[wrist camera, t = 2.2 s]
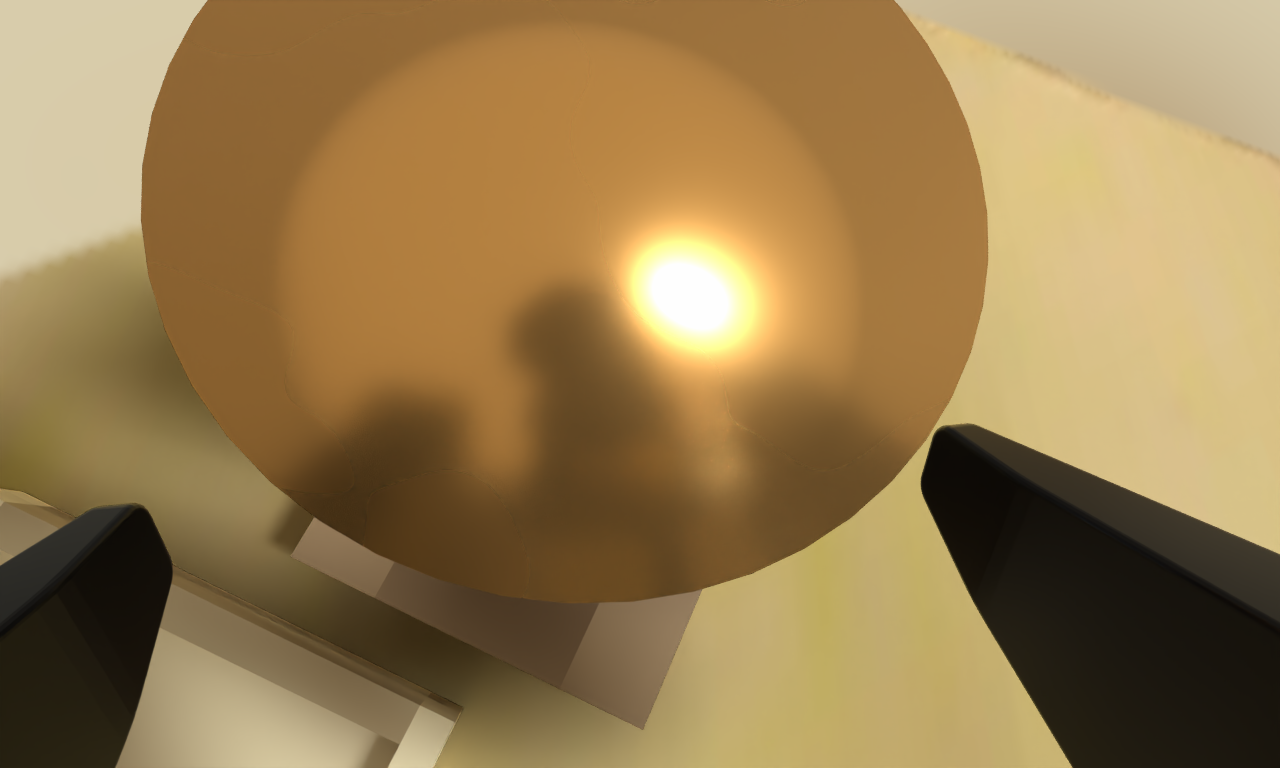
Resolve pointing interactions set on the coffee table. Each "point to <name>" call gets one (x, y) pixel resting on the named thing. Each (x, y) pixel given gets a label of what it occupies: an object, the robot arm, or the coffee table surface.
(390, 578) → the block
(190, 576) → the tray
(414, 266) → the pin
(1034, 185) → the coffee table surface
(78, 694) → the robot arm
